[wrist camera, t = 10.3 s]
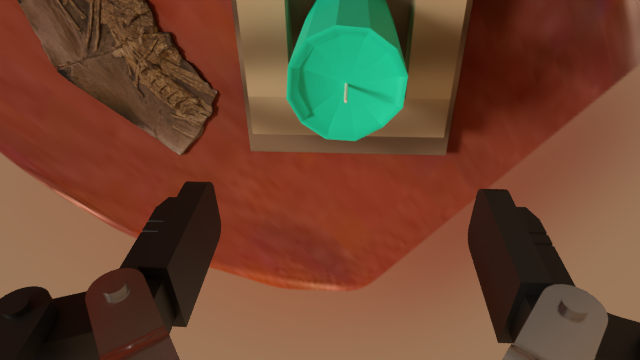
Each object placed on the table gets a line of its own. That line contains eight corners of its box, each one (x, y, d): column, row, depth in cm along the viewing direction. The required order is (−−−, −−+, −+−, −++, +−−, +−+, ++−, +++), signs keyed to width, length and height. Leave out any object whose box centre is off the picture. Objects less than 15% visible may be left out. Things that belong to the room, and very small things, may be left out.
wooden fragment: (241, 131, 36) (238, 137, 35) (139, 168, 39) (134, 174, 38) (14, -259, 23) (1, -264, 22) (-112, -158, 26) (-128, -159, 25)
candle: (315, 76, 31) (296, 164, 22) (297, -10, 28) (265, 47, 18) (397, 62, 30) (416, 148, 20) (388, -28, 27) (406, 22, 17)
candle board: (217, -151, 25) (198, -156, 22) (495, -159, 24) (515, -165, 21) (253, 143, 36) (244, 167, 33) (443, 147, 35) (451, 172, 32)
